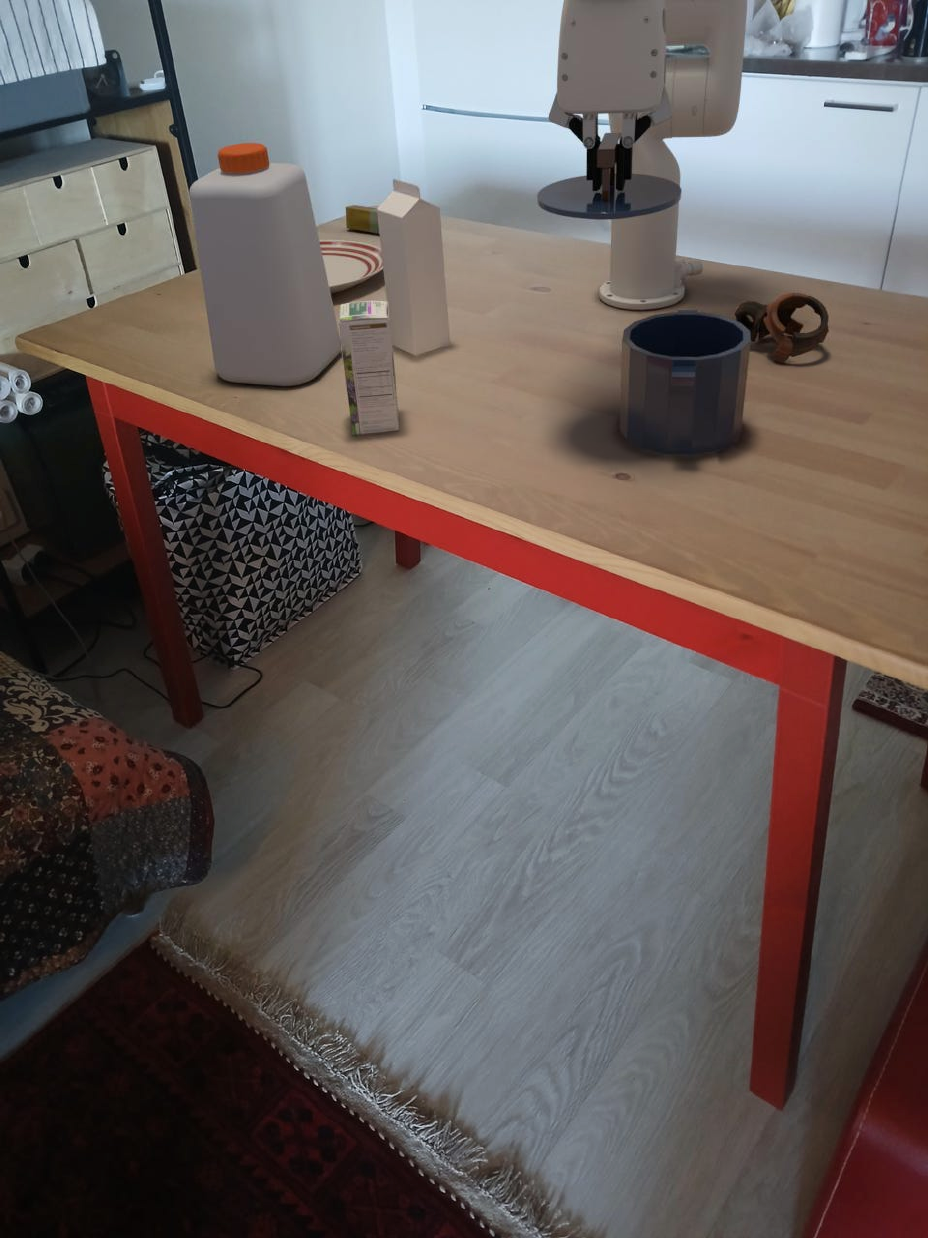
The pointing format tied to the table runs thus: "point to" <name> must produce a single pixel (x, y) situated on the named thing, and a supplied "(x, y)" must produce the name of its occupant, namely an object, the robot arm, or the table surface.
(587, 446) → the table surface
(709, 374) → the crock
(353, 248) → the dinner plate
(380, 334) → the syrup box
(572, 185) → the lid
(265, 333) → the plastic bottle
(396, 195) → the milk
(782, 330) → the rusty metal shackles
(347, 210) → the medication box
